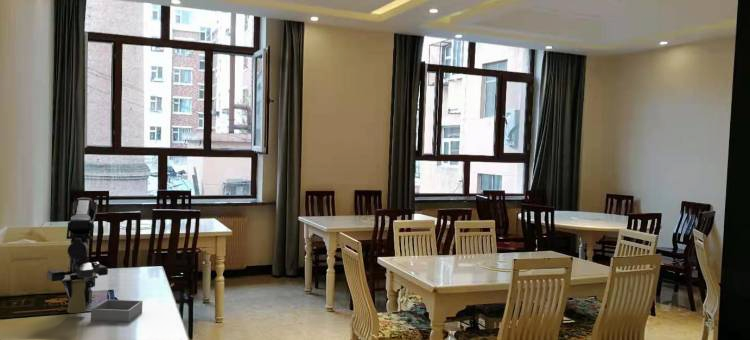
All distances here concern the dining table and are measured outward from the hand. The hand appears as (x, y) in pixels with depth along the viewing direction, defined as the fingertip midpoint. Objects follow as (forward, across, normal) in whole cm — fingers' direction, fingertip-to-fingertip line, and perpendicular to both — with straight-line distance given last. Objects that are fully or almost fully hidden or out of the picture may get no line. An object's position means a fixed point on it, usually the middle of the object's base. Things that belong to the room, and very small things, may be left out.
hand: (77, 296), depth 197 cm
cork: (+5, 0, 0) cm, 5 cm away
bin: (+7, +11, -8) cm, 15 cm away
